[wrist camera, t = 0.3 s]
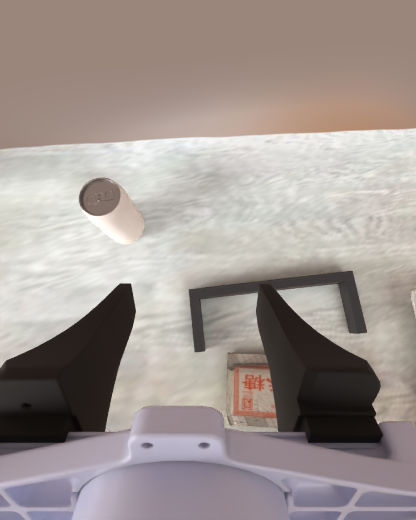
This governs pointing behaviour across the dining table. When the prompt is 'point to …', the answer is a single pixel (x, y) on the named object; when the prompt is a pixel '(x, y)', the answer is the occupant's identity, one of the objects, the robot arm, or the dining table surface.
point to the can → (111, 210)
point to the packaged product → (249, 391)
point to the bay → (343, 278)
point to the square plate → (413, 300)
